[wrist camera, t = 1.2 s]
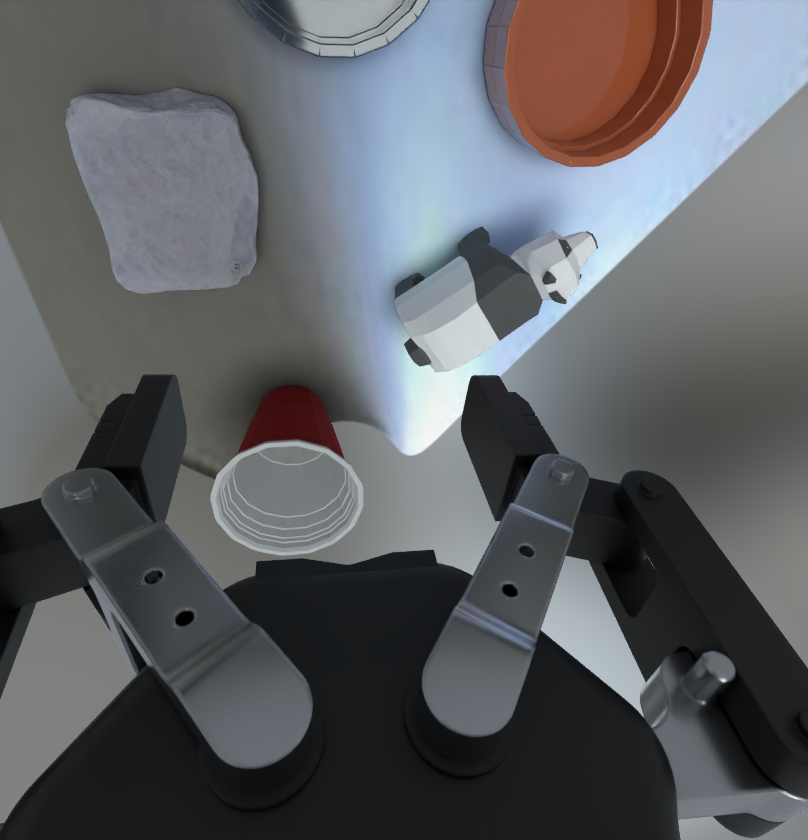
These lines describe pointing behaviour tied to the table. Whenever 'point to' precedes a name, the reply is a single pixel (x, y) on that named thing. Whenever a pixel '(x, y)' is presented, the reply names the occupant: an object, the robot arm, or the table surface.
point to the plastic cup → (288, 479)
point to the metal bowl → (336, 23)
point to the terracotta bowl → (591, 72)
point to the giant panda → (486, 295)
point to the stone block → (168, 187)
